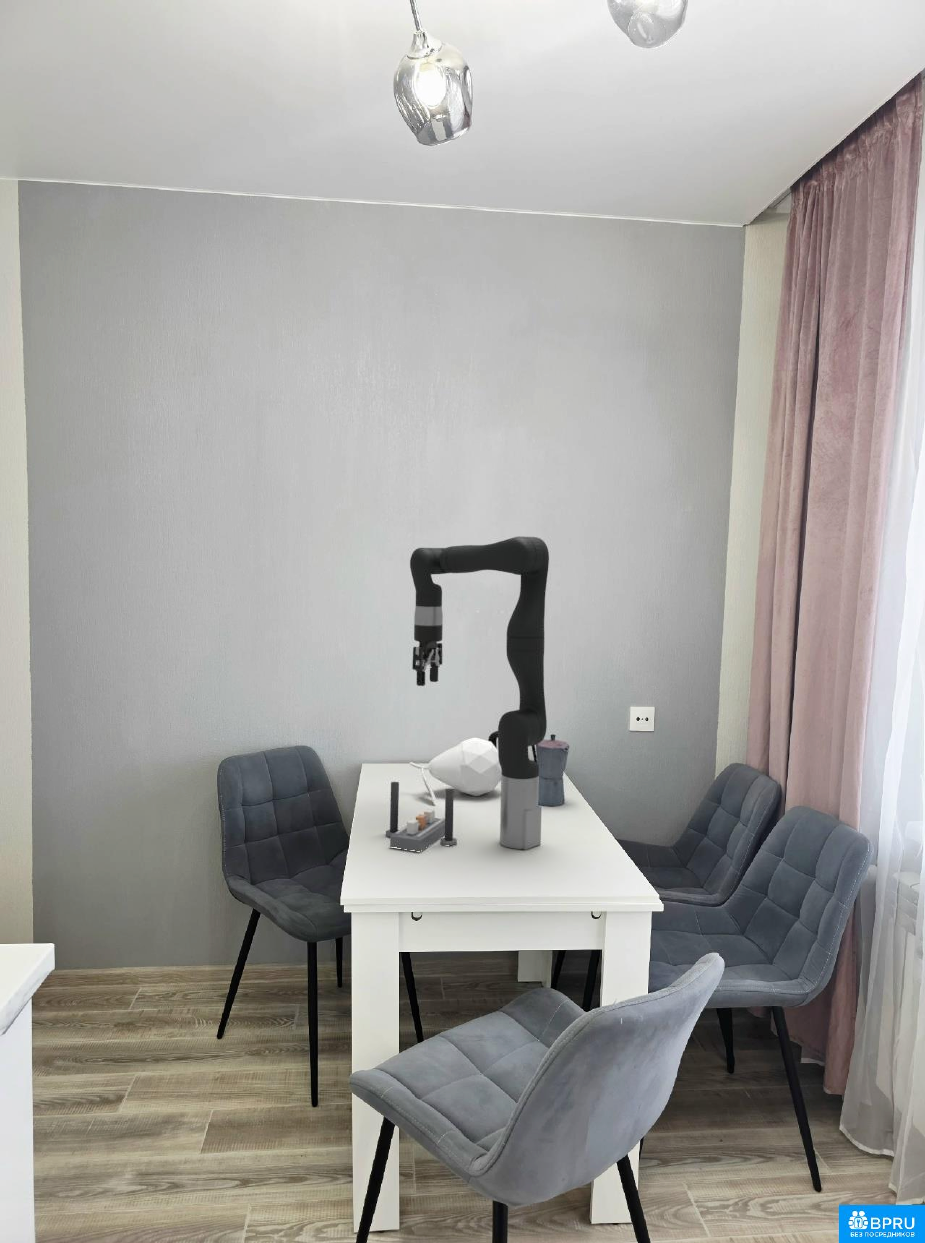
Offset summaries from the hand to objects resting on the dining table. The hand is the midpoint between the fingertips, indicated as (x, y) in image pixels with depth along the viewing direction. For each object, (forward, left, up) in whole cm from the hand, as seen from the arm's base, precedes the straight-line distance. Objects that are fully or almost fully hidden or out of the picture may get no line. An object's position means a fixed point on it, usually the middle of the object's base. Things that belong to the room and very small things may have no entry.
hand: (427, 683), depth 241 cm
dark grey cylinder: (-20, +12, -36) cm, 43 cm away
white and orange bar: (-13, +15, -33) cm, 38 cm away
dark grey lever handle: (-6, +18, -36) cm, 41 cm away
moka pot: (-15, -35, -36) cm, 53 cm away
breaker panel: (-13, +15, -36) cm, 41 cm away
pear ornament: (+8, -22, -36) cm, 43 cm away
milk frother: (+13, -49, -36) cm, 63 cm away
